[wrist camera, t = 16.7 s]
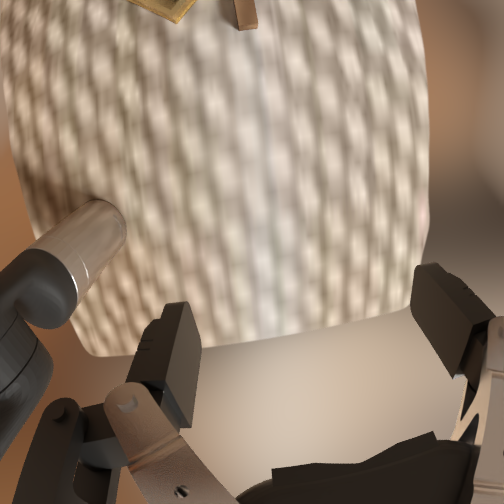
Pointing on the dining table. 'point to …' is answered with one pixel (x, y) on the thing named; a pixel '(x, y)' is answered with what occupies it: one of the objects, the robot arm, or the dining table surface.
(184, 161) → the dining table surface
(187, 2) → the keeper
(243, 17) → the door edge strip
